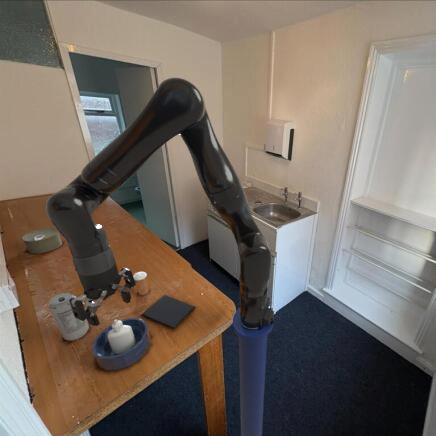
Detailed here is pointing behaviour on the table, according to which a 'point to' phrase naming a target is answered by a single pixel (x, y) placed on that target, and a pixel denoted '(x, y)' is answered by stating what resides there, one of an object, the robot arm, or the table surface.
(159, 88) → the robot arm
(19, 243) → the table surface
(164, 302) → the mat
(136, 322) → the bowl
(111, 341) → the eye dropper bottle
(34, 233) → the can
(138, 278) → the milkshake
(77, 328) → the energy drink can
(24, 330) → the table surface
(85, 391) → the table surface
